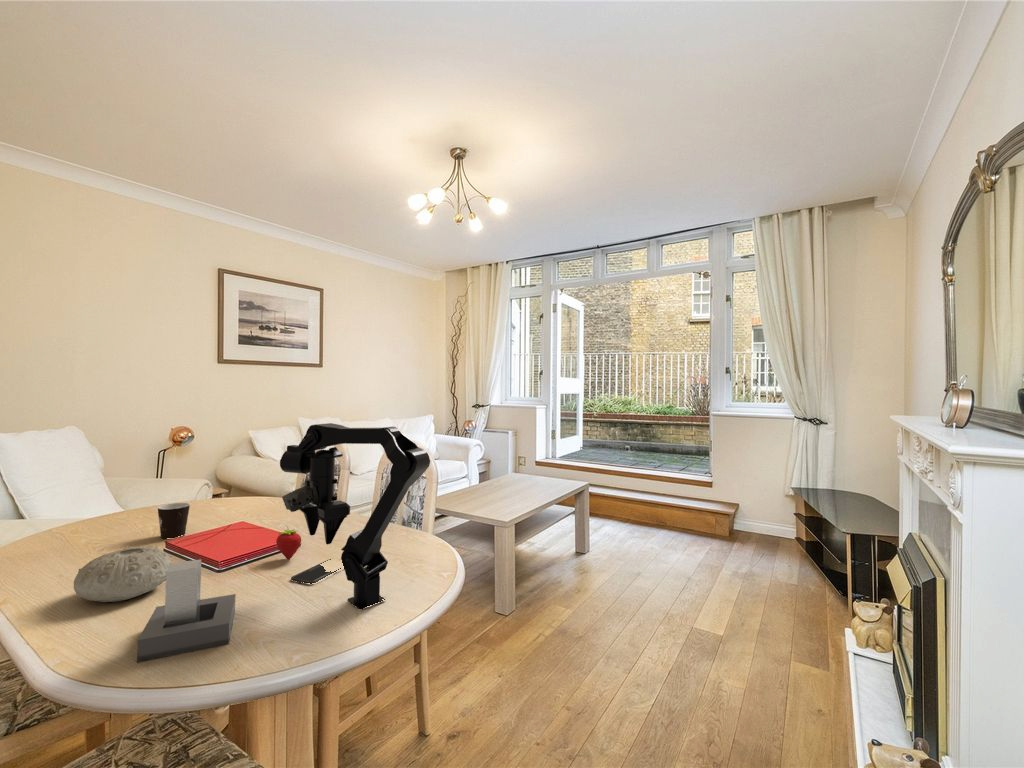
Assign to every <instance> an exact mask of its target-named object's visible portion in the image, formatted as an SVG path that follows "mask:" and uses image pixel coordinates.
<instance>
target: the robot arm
mask: <svg viewBox="0 0 1024 768" xmlns="http://www.w3.org/2000/svg"><path fill="white" fill-rule="evenodd" d="M343 444H349V445H350V444H351V445H352V444H355V445H356V444H357V445H359V444H361V445H364V444H365V445H367V444H368V445H369V444H370V445H373V444H374V445H380V446H381V447H382V448H383V450H384V453H385V455H386V457H387V459H388V460H389V462H390V463H391V464H392V465H391V467H390V471H389V472H390V474H389V475H390V477H389V482H388V484H387V486H386V488H385V489H384V492H383V494H382V495H381V497H380V498H379V500H378V502H377V504H376V506H375V508H374V510H373V511H372V513H371V515H370V517H369V519H368V520H367V522H366V524H365V525H364V528H363V529H361V530H359V531H357V532H354V533H352V534H350V535H349V536H348V538H347V540H346V543H345V545H344V546H343V547H342V548H341V549H340V550H341V552H342V553H341V555H340V560H342V563H343V566H344V570H343V571H344V572H345V576H346V580H347V581H349V582H352V584H353V596H352V597H348V598H346V599H347V602H348V603H349V602H350V603H349V604H351V605H352V604H353V605H354V606H353V605H352V606H353V607H355V606H356V607H357V608H356V607H355V608H356V609H358V610H359V609H362V610H364V609H363V608H365V607H367V606H370V605H373V604H375V603H378V602H381V601H383V600H382V599H384V598H385V597H383V596H382V595H380V594H381V593H380V589H381V588H380V587H381V585H380V584H381V576H380V575H381V572H383V571H385V570H386V568H387V567H388V564H389V561H388V560H387V559H386V558H385V556H384V554H383V553H382V552H381V548H382V546H383V545H382V542H383V541H382V538H383V535H384V533H385V532H386V530H387V528H388V526H389V524H391V521H392V519H393V517H394V515H395V514H396V512H397V510H398V508H399V506H400V505H401V503H402V502H403V500H404V498H405V496H406V494H407V493H408V491H409V489H410V488H411V487H412V485H414V484H415V482H417V481H418V480H420V478H421V477H422V476H423V475H424V474H425V472H426V471H427V470H428V469H429V467H430V465H431V459H430V456H429V454H428V452H427V451H426V450H425V449H423V448H421V447H420V446H419V445H418V444H417V443H416V442H415V441H414V440H412V439H411V438H409V437H408V436H407V435H405V434H404V433H403V432H402V431H401V430H400V429H399V428H398V427H396V426H386V427H348V426H344V425H342V424H337V423H333V422H332V423H330V422H329V423H317V424H312V425H309V426H308V428H307V430H306V432H305V434H304V436H303V438H302V439H301V440H300V442H299V444H298V445H297V444H292V445H287V446H286V451H284V452H283V454H282V455H281V457H280V460H279V466H280V469H281V470H282V471H283V472H284V473H289V474H292V473H293V474H303V475H307V474H308V475H309V476H308V478H306V479H305V481H304V485H303V486H301V487H300V488H296V489H295V490H292V491H291V492H289V493H286V494H284V495H283V496H282V498H281V499H282V501H283V504H284V507H285V509H286V510H289V511H290V512H291V513H295V512H297V511H300V512H301V513H303V515H304V518H305V522H306V525H307V530H308V532H309V533H308V534H309V535H310V536H315V535H316V533H317V530H318V527H319V523H320V522H322V523H323V530H324V531H323V533H324V540H325V544H326V545H327V546H328V545H331V544H332V543H333V541H334V539H335V536H336V535H337V533H338V531H339V529H340V527H341V525H342V524H343V522H344V520H345V519H346V518H347V517H348V516H349V515H351V505H350V504H349V503H348V502H346V501H343V500H338V495H336V494H335V485H336V484H338V482H339V481H338V479H337V478H335V470H336V469H335V468H336V467H335V466H336V465H335V463H336V458H341V457H343V455H344V454H343V452H341V451H340V450H339V449H338V448H337V447H335V446H337V445H343ZM326 448H328V449H326ZM381 596H382V597H381ZM384 600H385V601H386V598H385V599H384ZM365 609H366V608H365Z"/></svg>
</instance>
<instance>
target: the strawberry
mask: <svg viewBox="0 0 1024 768" xmlns="http://www.w3.org/2000/svg"><path fill="white" fill-rule="evenodd" d="M285 526H286V528H287V529H284V531H283V532H279V533H278V536H277V538H276V541H275V542H276V545H277V550H279V552H280V553H281V554H282V555H283V556H284V557H285V559H286V558H287V560H291V559H292V557H294V555H295V554H296V552H298V550H299V548H300V547H301V543H302V537H301V535H300V534H299V533H298V530H296V529H295V528H294V529H290V530H289V527H288V525H285ZM290 558H291V559H290Z"/></svg>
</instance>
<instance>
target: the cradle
mask: <svg viewBox="0 0 1024 768" xmlns="http://www.w3.org/2000/svg"><path fill="white" fill-rule="evenodd" d="M236 594H237V593H234V594H233V593H231V594H227V595H220V596H215V597H209V598H208V597H207V598H202V599H201V598H200V621H199V622H196V623H190V624H184V625H179V626H173V627H168V628H164V624H165V604H164V605H159V606H156V607H155V609H154V610H153V613H152V614H151V615H150V618H149V620H148V621H147V623H146V625H145V626H144V628H143V630H142V631H141V633H140V635H139V637H138V639H137V648H136V651H137V653H136V663H141V662H146V661H152V660H156V659H160V658H166V657H171V656H177V655H180V654H187V653H191V652H196V651H201V650H206V649H210V648H217V647H221V646H226V645H229V644H230V639H231V633H232V630H233V625H234V618H235V615H236V600H237V599H236V598H237V597H236V596H237V595H236Z"/></svg>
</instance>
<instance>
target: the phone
mask: <svg viewBox="0 0 1024 768" xmlns="http://www.w3.org/2000/svg"><path fill="white" fill-rule="evenodd" d="M331 559H332V558H330V559H327V560H324V561H323V562H320V563H318V564H316V565H314V566H312V567H309V568H307V569H305V570H303V571H300V572H299V573H296V574H295V575H292V576H291V577H290V581H291V580H293V581H297V582H302V583H303V582H304V583H310V584H312V583H316V582H318V581H319V580H321V579H323V578H325V577H326V576H328V575H330V574H332V573H334V572H336V571H337V570H336V571H334V572H331V571H330V572H325V571H326V570H325V569H324V567H323V566H321V565H320V564H322V563H324V562H326V561H328V560H331ZM340 569H341V568H340ZM338 570H339V569H338ZM297 582H296V583H297ZM302 583H301V584H302Z"/></svg>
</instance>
